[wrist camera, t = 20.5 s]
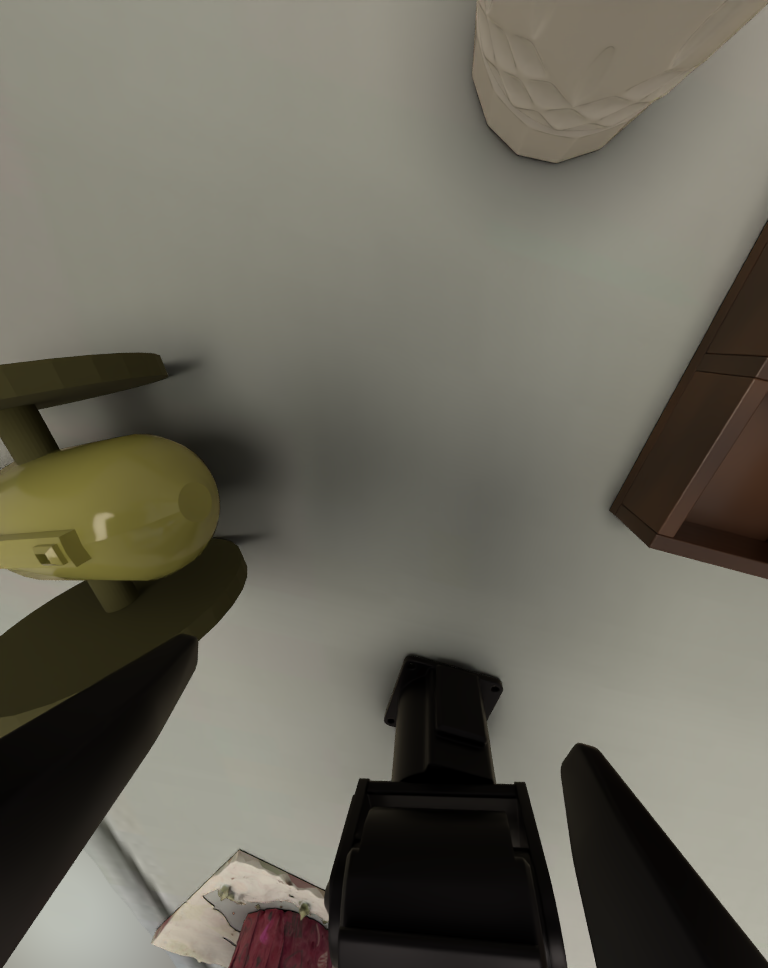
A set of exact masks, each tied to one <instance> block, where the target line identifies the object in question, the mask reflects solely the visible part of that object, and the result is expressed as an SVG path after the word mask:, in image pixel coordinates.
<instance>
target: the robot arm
mask: <svg viewBox="0 0 768 968" xmlns="http://www.w3.org/2000/svg"><path fill="white" fill-rule="evenodd" d="M197 661H198V639H197V637H195V636H191V635H187V634H183V633H181V634H178V635H176V636H174V637H172V638H170V639H169V640H167V641H165V642H164V643H162V644H160V645H159V646H157V647H155V648H153V649H152V650H150V651H148V652H147V653H145V654H143V655H141V656H140V657H138V658H136V659H135V660H133V661H131V662H129V663H128V664H126V665H124V666H123V667H121V668H119V669H118V670H116V671H114V672H112V673H111V674H109V675H107V676H106V677H104V678H102V679H100V680H99V681H97V682H95V683H94V684H92V685H90V686H88V687H87V688H85V689H83V690H82V691H80V692H78V693H77V694H75V695H73V696H71V697H70V698H68V699H66V700H65V701H63V702H61V703H59V704H58V705H56V706H54V707H53V708H51V709H49V710H48V711H46V712H44V713H42V714H41V715H39V716H37V717H36V718H34V719H32V720H30V721H29V722H27V723H25V724H24V725H22V726H20V727H18V728H17V729H15V730H13V731H12V732H10V733H8V734H7V735H5V736H3V737H1V738H0V968H3V966H4V965H5V963H6V962H7V960H8V959H9V957H10V956H11V954H12V953H13V951H14V950H15V948H16V947H17V945H18V944H19V942H20V941H21V939H22V938H23V937H24V935H25V934H26V932H27V931H28V929H29V928H30V926H31V925H32V923H33V921H34V920H35V919H36V917H37V916H38V914H39V913H40V911H41V910H42V909H43V907H44V905H45V904H46V903H47V901H48V900H49V898H50V897H51V895H52V893H53V892H54V891H55V889H56V888H57V886H58V885H59V883H60V882H61V880H62V879H63V878H64V876H65V875H66V873H67V872H68V870H69V869H70V867H71V866H72V864H73V863H74V861H75V860H76V858H77V857H78V855H79V854H80V852H81V851H82V849H83V848H84V847H85V845H86V844H87V842H88V841H89V839H90V838H91V836H92V835H93V833H94V832H95V830H96V829H97V827H98V826H99V824H100V823H101V821H102V820H103V819H104V817H105V816H106V814H107V813H108V811H109V810H110V808H111V807H112V805H113V804H114V802H115V801H116V799H117V798H118V796H119V795H120V793H121V792H122V790H123V789H124V788H125V786H126V785H127V783H128V782H129V780H130V779H131V777H132V776H133V774H134V773H135V771H136V770H137V768H138V767H139V765H140V764H141V762H142V761H143V760H144V758H145V757H146V755H147V754H148V752H149V750H150V749H151V747H152V746H153V744H154V743H155V741H156V739H157V738H158V736H159V734H160V732H161V731H162V729H163V727H164V725H165V723H166V722H167V720H168V718H169V716H170V714H171V713H172V711H173V709H174V707H175V705H176V704H177V702H178V700H179V698H180V696H181V695H182V693H183V691H184V689H185V687H186V686H187V684H188V682H189V680H190V678H191V677H192V675H193V673H194V671H195V669H196V666H197ZM410 663H412V664H410ZM494 686H495V687H494ZM502 692H503V687H502V683H501V681H500V680H499V679H497V678H493V677H489V676H486V675H482V674H478V673H475V672H471V671H468V670H464V669H460V668H457V667H453V666H449V665H446V664H442V663H438V662H435V661H431V660H427V659H424V658H420V657H416V656H407V657H406V658H405V659H404V662H403V665H402V668H401V670H400V673H399V676H398V679H397V682H396V684H395V687H394V690H393V693H392V695H391V698H390V701H389V704H388V707H387V709H386V712H385V717H384V722H385V723H386V724H387V725H389V726H392V727H396V733H395V745H394V757H393V769H392V781H370V779H366V778H360V779H359V781H358V785H357V788H356V792H355V795H353V797H352V801H351V804H350V808H349V811H348V815H347V818H346V822H345V825H344V829H343V833H342V836H341V840H340V843H339V847H338V850H337V854H336V857H335V861H334V864H333V868H332V872H331V875H330V880H329V882H328V884H327V887H326V889H325V895H324V906H325V908H326V911H327V913H328V915H329V924H328V940H329V953H330V959H331V963H332V965H333V966H334V967H335V968H567V962H566V955H565V949H564V943H563V938H562V932H561V927H560V922H559V916H558V912H557V907H556V902H555V897H554V893H553V888H552V884H551V880H550V876H549V872H548V868H547V864H546V860H545V856H544V852H543V849H542V845H541V841H540V837H539V833H538V829H537V826H536V822H535V818H534V814H533V810H532V807H531V803H530V799H529V795H528V791H527V787H526V784H525V782H514V784H496V780H495V773H494V767H493V760H492V754H491V747H490V740H489V734H488V727H487V720H488V718H489V716H490V714H491V712H492V710H493V708H494V706H495V705H496V703H497V701H498V699H499V697H500V695H501V693H502ZM561 780H562V787H563V794H564V801H565V808H566V815H567V823H568V830H569V837H570V844H571V850H572V856H573V862H574V867H575V872H576V877H577V881H578V886H579V890H580V895H581V899H582V904H583V908H584V913H585V917H586V922H587V926H588V931H589V935H590V940H591V944H592V949H593V953H594V958H595V962H596V967H597V968H768V962H767V960H766V959H765V958H764V957H763V955H762V954H761V953H760V952H759V950H758V949H757V948H756V947H755V945H754V944H753V943H752V941H751V940H750V939H749V938H748V936H747V935H746V934H745V933H744V931H743V930H742V929H741V928H740V926H739V925H738V924H737V923H736V921H735V920H734V919H733V918H732V916H731V915H730V914H729V913H728V911H727V910H726V909H725V908H724V906H723V905H722V904H721V903H720V901H719V900H718V899H717V898H716V896H715V895H714V894H713V892H712V891H711V890H710V889H709V887H708V886H707V885H706V884H705V882H704V881H703V880H702V879H701V877H700V876H699V875H698V874H697V872H696V871H695V870H694V869H693V867H692V866H691V865H690V864H689V862H688V861H687V860H686V859H685V857H684V856H683V855H682V854H681V852H680V851H679V850H678V849H677V847H676V846H675V845H674V843H673V842H672V841H671V840H670V838H669V837H668V836H667V835H666V833H665V832H664V831H663V830H662V828H661V827H660V826H659V825H658V823H657V822H656V821H655V820H654V818H653V817H652V816H651V815H650V813H649V812H648V811H647V810H646V808H645V807H644V806H643V805H642V803H641V802H640V801H639V800H638V798H637V797H636V796H635V794H634V793H633V792H632V791H631V789H630V788H629V787H628V786H627V784H626V783H625V782H624V781H623V779H622V778H621V777H620V776H619V774H618V773H617V772H616V771H615V769H614V768H613V767H612V766H611V764H610V763H609V762H608V761H607V759H606V758H605V757H604V756H603V754H602V753H601V752H600V751H599V750H598V749H597V748H595V747H593V746H590V745H586V744H583V743H577V744H575V745H574V747H573V748H572V750H571V751H570V752H569V754H568V755H567V757H566V758H565V759H564V761H563V763H562V766H561Z"/></svg>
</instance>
